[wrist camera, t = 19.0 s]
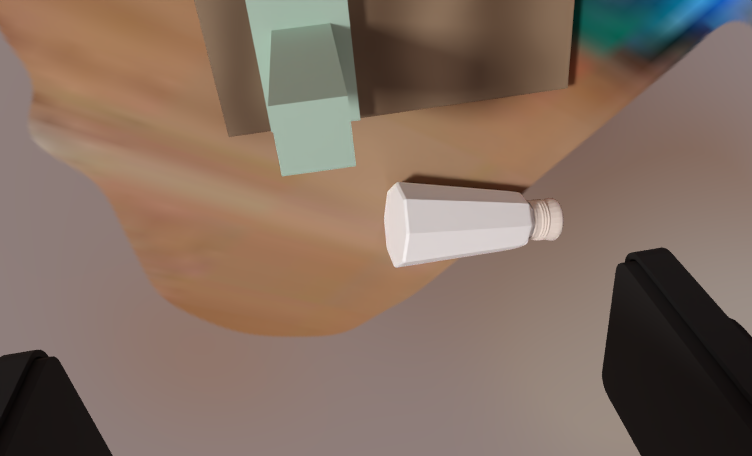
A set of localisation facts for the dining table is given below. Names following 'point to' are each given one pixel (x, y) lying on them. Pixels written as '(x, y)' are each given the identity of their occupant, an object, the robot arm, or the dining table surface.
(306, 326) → the dining table surface
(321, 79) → the mint t-shaped block
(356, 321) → the dining table surface
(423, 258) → the pepper shaker
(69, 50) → the dining table surface
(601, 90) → the dining table surface
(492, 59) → the board
